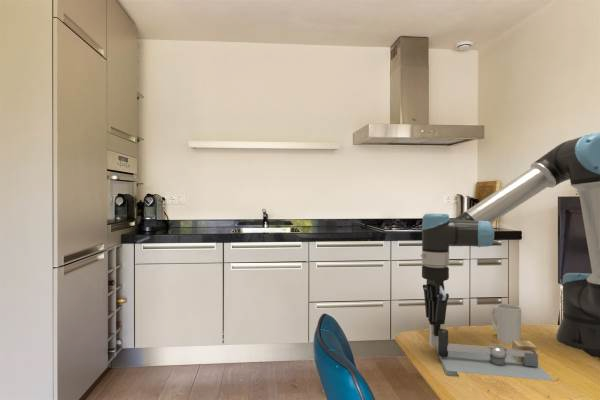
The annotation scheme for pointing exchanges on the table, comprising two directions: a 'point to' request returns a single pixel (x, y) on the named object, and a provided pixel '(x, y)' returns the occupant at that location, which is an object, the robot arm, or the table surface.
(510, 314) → the mug
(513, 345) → the block
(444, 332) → the lever
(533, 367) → the base
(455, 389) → the table surface
